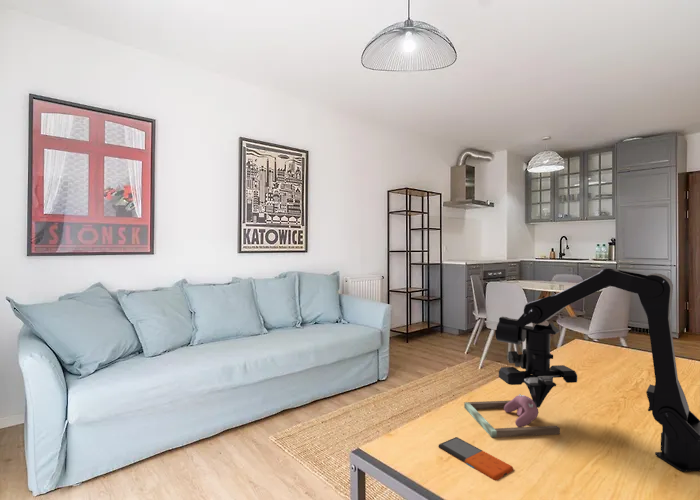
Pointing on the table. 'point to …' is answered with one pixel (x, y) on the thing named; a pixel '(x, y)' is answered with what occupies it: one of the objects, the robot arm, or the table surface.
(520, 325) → the robot arm
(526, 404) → the video game controller
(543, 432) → the u-shaped rail frame
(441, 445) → the two-tone rubber eraser
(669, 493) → the table surface
